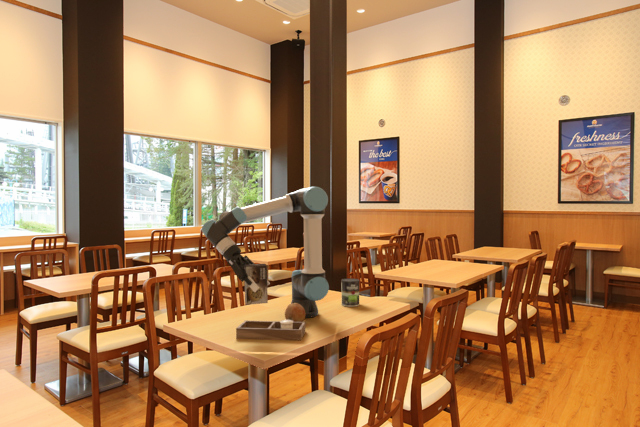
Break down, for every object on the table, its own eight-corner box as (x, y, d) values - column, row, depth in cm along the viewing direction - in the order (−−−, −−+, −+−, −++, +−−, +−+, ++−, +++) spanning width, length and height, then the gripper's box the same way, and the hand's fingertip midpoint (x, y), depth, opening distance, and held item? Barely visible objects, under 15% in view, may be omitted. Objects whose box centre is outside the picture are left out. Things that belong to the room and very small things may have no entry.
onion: (308, 322, 196) (307, 301, 196) (302, 327, 187) (302, 305, 186) (288, 320, 199) (288, 300, 198) (282, 326, 189) (281, 304, 189)
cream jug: (281, 333, 176) (281, 319, 176) (294, 333, 175) (294, 319, 175) (278, 337, 170) (278, 323, 170) (292, 337, 170) (291, 323, 170)
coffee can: (362, 306, 228) (362, 280, 228) (344, 307, 225) (344, 281, 225) (356, 302, 238) (356, 277, 238) (339, 303, 235) (338, 278, 235)
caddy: (245, 331, 181) (244, 320, 181) (305, 333, 178) (305, 322, 178) (236, 340, 169) (236, 328, 169) (300, 342, 166) (300, 330, 166)
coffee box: (265, 300, 179) (265, 263, 179) (267, 303, 173) (267, 265, 172) (244, 301, 176) (244, 264, 176) (246, 305, 170) (245, 266, 170)
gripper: (236, 253, 189) (267, 288, 185) (209, 258, 168) (244, 299, 163) (246, 241, 188) (278, 277, 183) (220, 245, 166) (256, 286, 162)
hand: (262, 287), depth 173 cm, fingers closed on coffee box, 10 cm apart
